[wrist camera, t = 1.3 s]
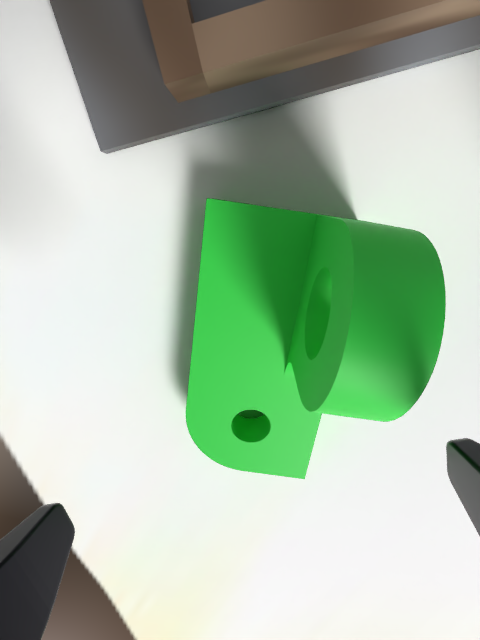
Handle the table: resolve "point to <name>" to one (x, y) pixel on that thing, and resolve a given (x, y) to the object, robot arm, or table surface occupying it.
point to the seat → (241, 55)
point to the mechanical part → (306, 330)
